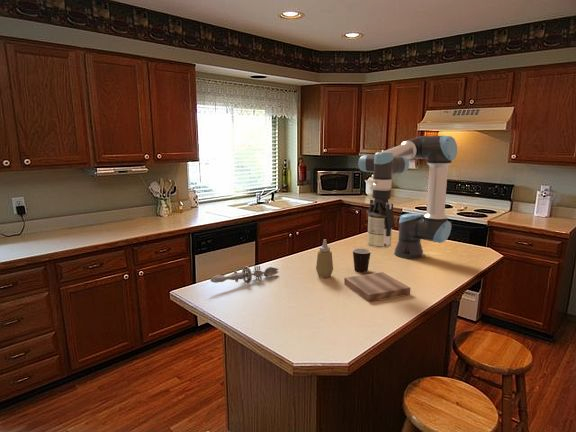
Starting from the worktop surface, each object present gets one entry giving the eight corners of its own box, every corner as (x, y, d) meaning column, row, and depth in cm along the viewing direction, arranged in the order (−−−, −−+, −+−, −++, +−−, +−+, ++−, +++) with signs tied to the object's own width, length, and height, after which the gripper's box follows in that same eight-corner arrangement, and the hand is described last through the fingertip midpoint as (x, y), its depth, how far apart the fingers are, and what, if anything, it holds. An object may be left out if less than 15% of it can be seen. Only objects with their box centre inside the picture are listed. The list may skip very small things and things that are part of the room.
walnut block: (382, 278, 176) (382, 272, 175) (410, 294, 157) (410, 287, 157) (344, 284, 169) (344, 277, 168) (368, 301, 151) (368, 294, 150)
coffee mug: (357, 266, 192) (358, 247, 190) (373, 269, 187) (373, 250, 185) (345, 272, 183) (346, 252, 181) (361, 276, 178) (362, 256, 176)
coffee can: (367, 241, 170) (369, 210, 168) (391, 243, 168) (393, 211, 165) (365, 247, 161) (367, 214, 158) (390, 249, 158) (392, 216, 155)
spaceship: (205, 271, 163) (213, 269, 157) (272, 263, 185) (281, 261, 178) (207, 290, 162) (215, 288, 156) (274, 279, 183) (283, 278, 177)
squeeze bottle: (320, 272, 184) (320, 236, 180) (335, 275, 180) (336, 238, 176) (312, 277, 177) (313, 240, 174) (328, 280, 173) (329, 242, 170)
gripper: (360, 186, 169) (358, 234, 173) (390, 192, 148) (386, 247, 152) (374, 185, 171) (372, 233, 175) (406, 192, 150) (402, 246, 154)
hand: (379, 240), depth 164 cm, fingers closed on coffee can, 10 cm apart
